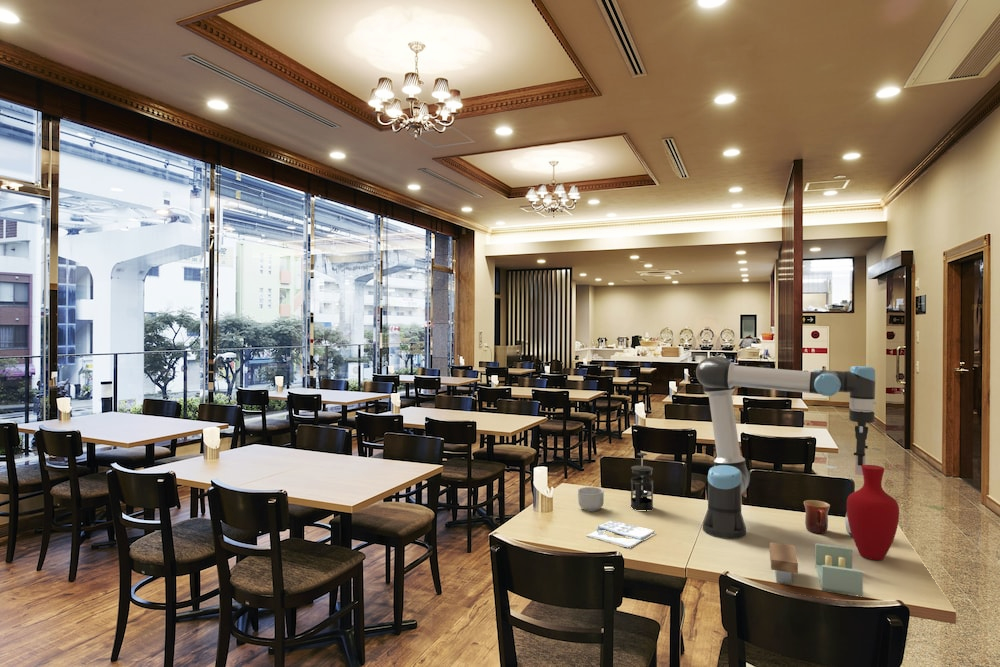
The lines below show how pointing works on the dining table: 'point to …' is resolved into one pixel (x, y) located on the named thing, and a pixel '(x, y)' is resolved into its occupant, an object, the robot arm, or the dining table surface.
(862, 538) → the vase
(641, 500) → the french press
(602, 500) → the teacup
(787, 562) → the board
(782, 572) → the block
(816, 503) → the mug
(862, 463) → the robot arm
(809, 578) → the dining table surface
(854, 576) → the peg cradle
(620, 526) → the folded cloth napkin
